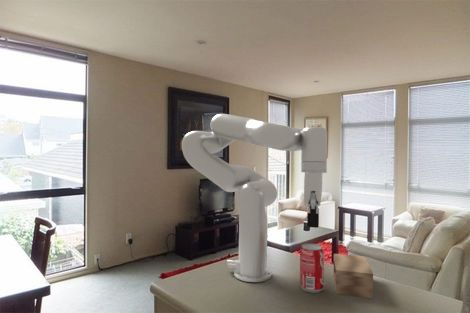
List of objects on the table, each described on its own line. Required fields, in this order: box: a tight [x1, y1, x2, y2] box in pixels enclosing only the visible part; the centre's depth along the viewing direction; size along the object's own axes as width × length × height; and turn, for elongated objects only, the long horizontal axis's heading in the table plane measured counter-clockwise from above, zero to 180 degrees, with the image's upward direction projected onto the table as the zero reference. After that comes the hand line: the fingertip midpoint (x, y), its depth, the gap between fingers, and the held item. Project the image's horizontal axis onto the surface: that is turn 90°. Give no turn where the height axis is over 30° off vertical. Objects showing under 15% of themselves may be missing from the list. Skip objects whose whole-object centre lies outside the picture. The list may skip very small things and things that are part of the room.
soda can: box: [299, 243, 325, 294], centre depth 95 cm, size 7×7×13 cm
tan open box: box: [332, 253, 374, 299], centre depth 98 cm, size 10×16×7 cm, turn 165°
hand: (313, 223), depth 94 cm, fingers open, 9 cm apart
